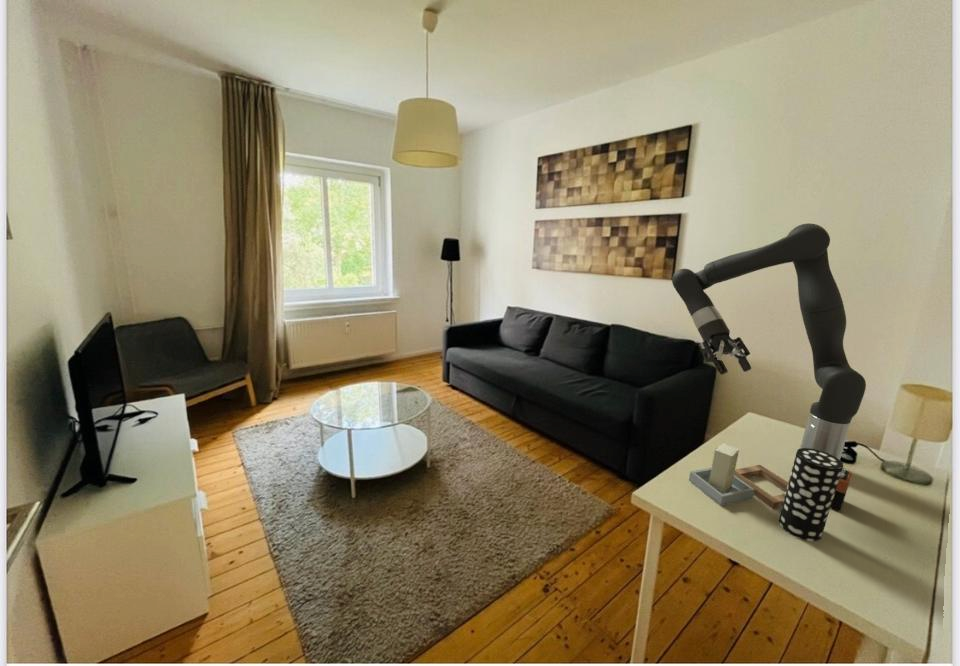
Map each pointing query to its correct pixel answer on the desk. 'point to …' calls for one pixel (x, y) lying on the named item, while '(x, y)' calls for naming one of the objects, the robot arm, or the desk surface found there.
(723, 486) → the skincare box
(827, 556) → the desk surface
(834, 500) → the battery
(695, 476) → the tray
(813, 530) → the white-spotted black cylinder
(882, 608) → the desk surface
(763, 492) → the brown flat rectangular frame
